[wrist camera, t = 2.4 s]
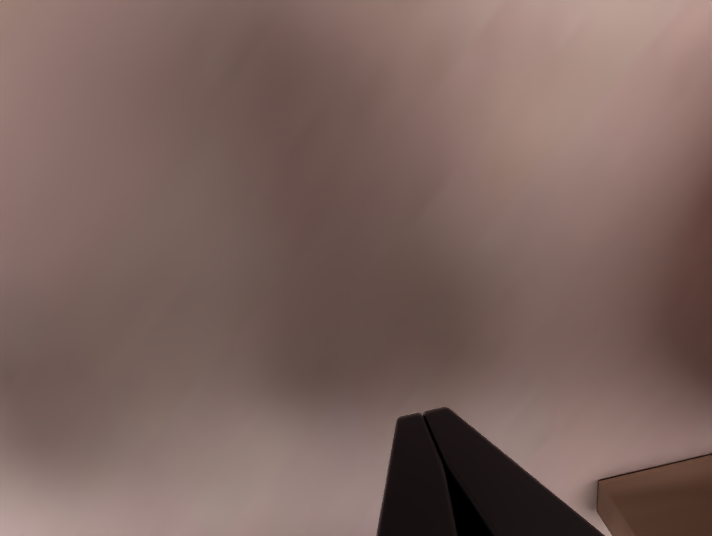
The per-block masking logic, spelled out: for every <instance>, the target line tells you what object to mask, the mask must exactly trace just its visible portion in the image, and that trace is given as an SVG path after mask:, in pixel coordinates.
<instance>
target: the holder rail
mask: <svg viewBox="0 0 712 536" xmlns="http://www.w3.org/2000/svg"><path fill="white" fill-rule="evenodd" d="M597 512H598V514H599V515H600V517H601V519H602V520H603V522H604V523H605V525H606V527H607V528H608V530H609V531H610V533H611V534H612V536H712V455H708V456H704V457H700V458H696V459H691V460H687V461H683V462H678V463H674V464H670V465H666V466H661V467H657V468H653V469H648V470H644V471H640V472H636V473H631V474H627V475H623V476H618V477H614V478H610V479H606V480H601V481H599V488H598V505H597Z"/></svg>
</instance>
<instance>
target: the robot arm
mask: <svg viewBox="0 0 712 536" xmlns="http://www.w3.org/2000/svg"><path fill="white" fill-rule="evenodd" d="M376 536H605V535H603V534H602V533H601V532H600V531H599V530H597V529H596V528H595V527H594V526H592V525H591V524H590V523H589V522H588V521H586V520H585V519H584V518H583V517H581V516H580V515H579V514H578V513H577V512H575V511H574V510H573V509H572V508H570V507H569V506H568V505H567V504H566V503H564V502H563V501H562V500H561V499H559V498H558V497H557V496H556V495H555V494H553V493H552V492H551V491H550V490H548V489H547V488H546V487H545V486H544V485H542V484H541V483H540V482H539V481H537V480H536V479H535V478H534V477H533V476H531V475H530V474H529V473H528V472H526V471H525V470H524V469H523V468H522V467H520V466H519V465H518V464H517V463H515V462H514V461H513V460H512V459H511V458H509V457H508V456H507V455H506V454H504V453H503V452H502V451H501V450H499V449H498V448H497V447H496V446H495V445H493V444H492V443H491V442H490V441H488V440H487V439H486V438H485V437H484V436H482V435H481V434H480V433H479V432H477V431H476V430H475V429H474V428H473V427H471V426H470V425H469V424H468V423H466V422H465V421H464V420H463V419H462V418H460V417H459V416H458V415H457V414H455V413H454V412H453V411H452V410H451V409H449V408H447V407H442V408H438V409H433V410H429V411H425V412H424V414H423V415H422V414H420V413H415V414H411V415H406V416H402V417H399V418H398V419H397V422H396V427H395V433H394V439H393V444H392V450H391V456H390V461H389V467H388V473H387V478H386V484H385V490H384V495H383V501H382V507H381V512H380V518H379V524H378V529H377V535H376Z"/></svg>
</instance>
